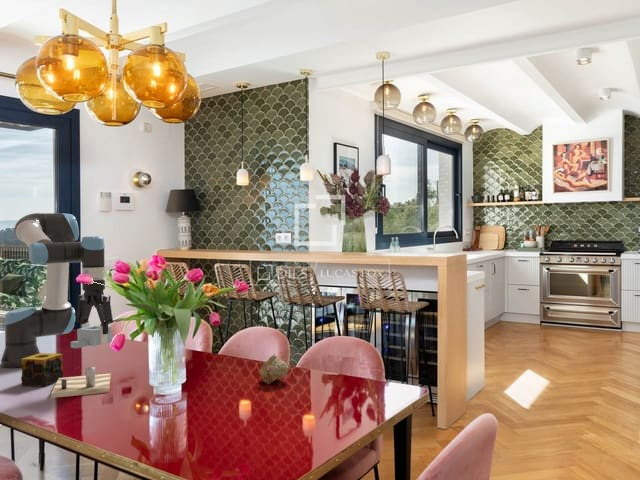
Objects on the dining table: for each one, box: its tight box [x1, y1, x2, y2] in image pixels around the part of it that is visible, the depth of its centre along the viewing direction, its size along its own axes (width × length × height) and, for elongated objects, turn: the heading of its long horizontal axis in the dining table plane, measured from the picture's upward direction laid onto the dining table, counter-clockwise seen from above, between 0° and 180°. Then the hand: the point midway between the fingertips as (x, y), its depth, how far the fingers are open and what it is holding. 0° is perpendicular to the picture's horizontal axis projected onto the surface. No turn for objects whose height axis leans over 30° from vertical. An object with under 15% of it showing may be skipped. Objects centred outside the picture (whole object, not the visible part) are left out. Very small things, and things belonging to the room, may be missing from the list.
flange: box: [70, 325, 113, 349], centre depth 191 cm, size 13×8×6 cm, turn 155°
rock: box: [259, 353, 291, 385], centre depth 197 cm, size 12×10×10 cm
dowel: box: [61, 379, 67, 389], centre depth 185 cm, size 2×2×3 cm
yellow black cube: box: [20, 352, 64, 388], centre depth 199 cm, size 10×10×10 cm
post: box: [85, 366, 96, 388], centre depth 188 cm, size 3×3×6 cm
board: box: [50, 373, 112, 399], centre depth 193 cm, size 20×18×2 cm
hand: (94, 342), depth 193 cm, fingers closed on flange, 8 cm apart
